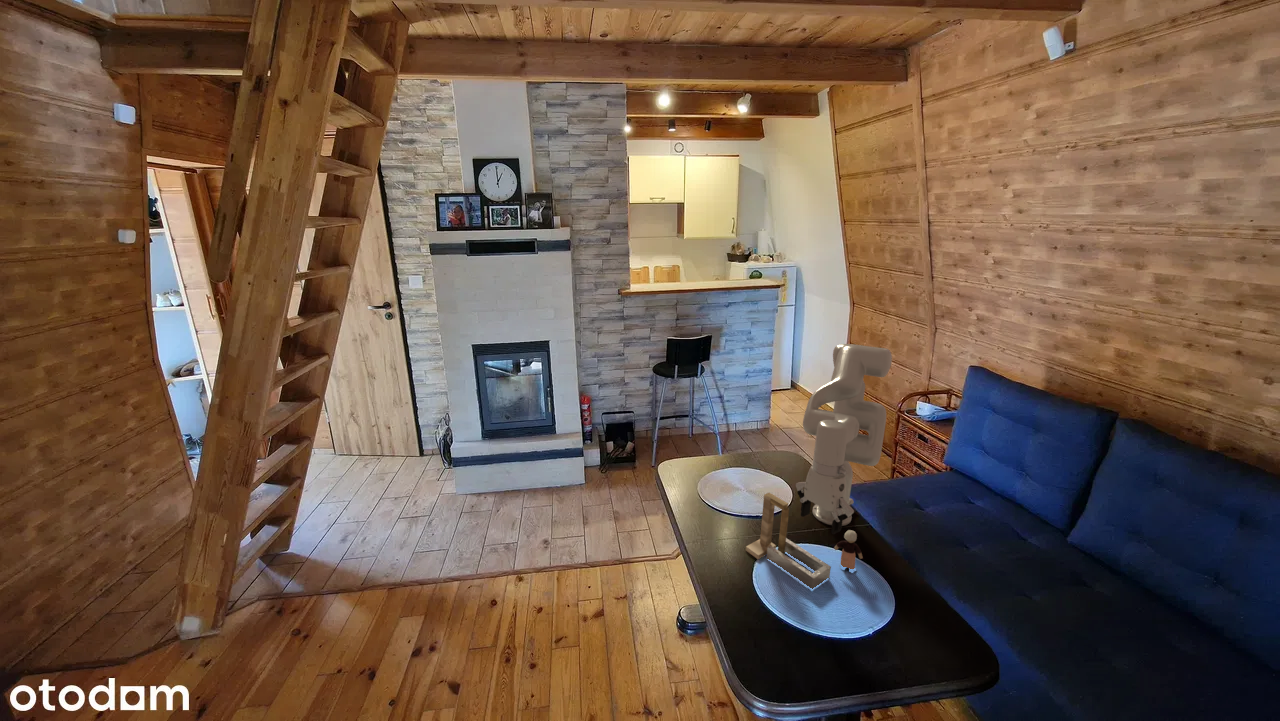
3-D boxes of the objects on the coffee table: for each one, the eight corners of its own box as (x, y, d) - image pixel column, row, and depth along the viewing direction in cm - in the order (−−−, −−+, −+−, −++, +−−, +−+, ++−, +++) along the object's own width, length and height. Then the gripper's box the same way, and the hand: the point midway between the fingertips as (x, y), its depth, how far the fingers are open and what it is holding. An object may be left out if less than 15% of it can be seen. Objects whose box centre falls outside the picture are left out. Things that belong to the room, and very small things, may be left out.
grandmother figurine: (859, 566, 146) (865, 530, 142) (860, 575, 142) (866, 538, 139) (831, 560, 148) (836, 524, 144) (831, 569, 145) (837, 532, 141)
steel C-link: (829, 579, 141) (830, 566, 139) (811, 591, 136) (813, 578, 135) (783, 549, 153) (784, 537, 152) (766, 559, 149) (767, 547, 147)
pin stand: (763, 540, 157) (767, 489, 152) (787, 557, 150) (793, 503, 144) (745, 550, 153) (749, 497, 147) (769, 567, 145) (775, 513, 140)
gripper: (866, 476, 126) (856, 534, 130) (808, 451, 140) (802, 504, 144) (848, 484, 122) (839, 544, 126) (791, 457, 135) (785, 512, 140)
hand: (819, 523), depth 135 cm, fingers open, 9 cm apart
